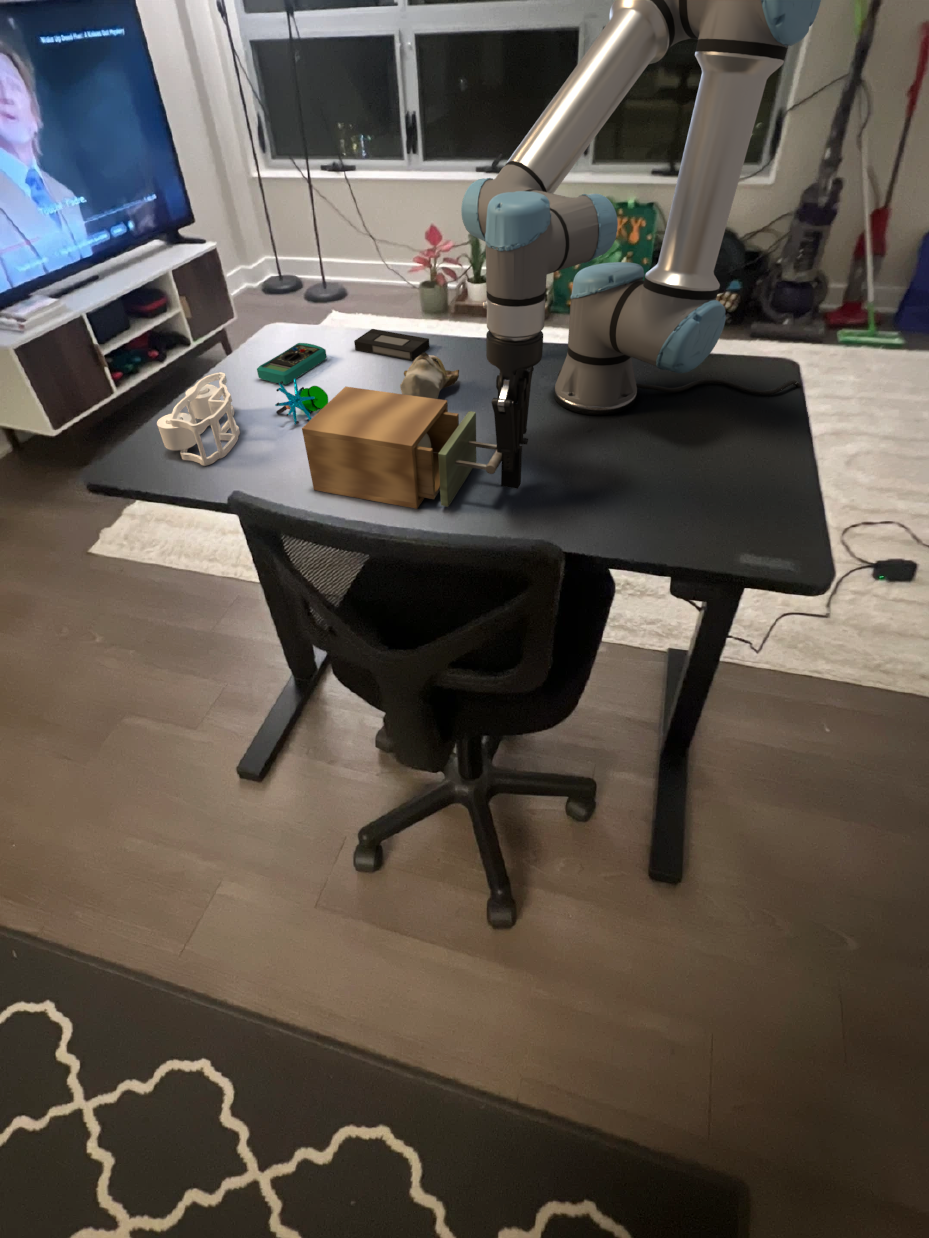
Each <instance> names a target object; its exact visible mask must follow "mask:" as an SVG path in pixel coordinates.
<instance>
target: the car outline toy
mask: <svg viewBox="0 0 929 1238" xmlns="http://www.w3.org/2000/svg"><path fill="white" fill-rule="evenodd" d="M215 381H218V385H219V387H217V385H214V384H210V383H213V382H215ZM227 382H228V380H227V376H226V373H225V372H215V373H211V374H208V375H206V376H204V377H202V378H201V379H200V380H198V381H197V382H196V383H195V384H194V386H192V387H189V388H188V389H187V390H186V391H185V396H184V397H182V398H181V399H180V400H179V401H178V402H177V404H176V405H174V407H173V409H172V411H171V413H168V414H166V415H163V416H161V417H160V418H159V419H157V421H156V425H157V428H158V431H159V433H160V437H161V440H162V442H163V446H164V448H166V449H167V450H169V451H180V452H179V453H180V457H181V459H182V461H191V462H194V463H198V464H200V465H201V466H204V467H205V466H209V465H212V464H215V462H216V461H218V460H219V459H223V458H225V457H226V456H227V455H228V454H229V453H230V451H231V450H232V449H233V448H234V446H235V445H236V444H237V442H238V440H239V436H240V435H241V430H240V427H239V426H238V425H237V422H236V419H235V418H234V415H235V413H236V412H235V409H234V406H233V404H232V402H233V399H232V394H231V393H230V392H229V390H228V387H227ZM221 397H222V398H223V399H221ZM185 407H186V409H187V412H181V411H183V409H184V408H185ZM225 414H226V416H227V420H226V422H225V423H224V424H223V425H222V426H221V424H220V422H219V421H220V419H222V417H224V416H225ZM197 420H201V421H199V422H198V423H197ZM209 426H210V427H211V428H210V429H211V431H212V434H213V438H214V443H215V446H216V449H217V451H214V452H213V453H212V454H210V455H209V456H207V454H206V450H205V447H204V444H203V441H202V438H201V434H203V433H204V432H205V431H206V430H207V428H208V427H209ZM229 430H230V431H231V433H227V432H228V431H229ZM221 441H227V443H226V444H225V445H224V446H223V445H222V442H221ZM196 444H197V448H198V451H199V454H195V453H191V452H188V450H189V449H190V448H192V447H194V446H195V445H196Z"/></svg>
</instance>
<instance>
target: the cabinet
mask: <svg viewBox="0 0 929 1238" xmlns="http://www.w3.org/2000/svg"><path fill="white" fill-rule="evenodd" d="M448 404H449V403H448V400H446V399H440V398H437V399H433V398H426V397H418V396H411V395H404V394H402V393H398V392H397V393H396V392H389V391H380V390H375V389H368V388H367V389H366V388H360V387H354V386H353V387H352V386H347V385H346V386H344V387H343V388H342V389H341V390H340V391H339V392H338V393H337V394H336V395H335V396H334V397H333V398H332V399H331V400H329V401H328V404H327V405H326V406H325V407H324V408H322V409H319V410H318V412H317V413H316V414H315V415H314V416H313V417H311V418H312V419H311V420H310V421H307V423H306V424H304V426H303V427H301V433H302V436H303V440H304V447H305V452H306V456H307V457H306V458H307V463H308V467H309V471H310V476H311V477H310V478H311V483H312V487H313V488H312V489H313V491H317V492H322V493H328V494H333V495H339V496H345V497H350V498H356V499H361V500H366V501H372V502H377V503H383V504H388V505H394V506H400V507H404V508H410V509H415V510H417V509H418V508H419V506H420V505H421V504H422V502H423V501H424V499H425V498H424V497H419V496H418V487H417V474H416V461H415V449H414V448H415V447H416V446H417V445H418V443H419V442H420V441H421V439H422V438H423V437H424V436H425V434H426V433H427V432H428V430H429V429H430V428H431V426H432V425H433V424H434V423H435V421H436V420H437V419H438V417H439V416H440V415H441V414H442V412H443V411H444V412H449V406H448Z"/></svg>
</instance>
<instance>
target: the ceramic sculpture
mask: <svg viewBox="0 0 929 1238" xmlns="http://www.w3.org/2000/svg"><path fill="white" fill-rule="evenodd" d="M403 376H404V378H403V379H402V381H401V383H400V385H399V388H400V391H401V394H404V395H411V396H418V397H426V398H433V399H439V396H440V392H441V390H442V389H446V388H449V387H452V386H453V385H455V384H456V383H457V381H458V380H459V378H460V369H456V370H453V371H452V370H447V369H446V368H445V366H444V363H443V361H442V360H441V359H440V358H439V357H438V356H436V355H433V354H432V355H431V354H429V353H427V352H426V351H424V352H423V353H422V354H420V355H419V356H418V357H417V358H415V359H414V360H413V361H412V363H411V365H410V366H409V367H408V369H407V370H404V372H403Z"/></svg>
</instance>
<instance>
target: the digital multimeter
mask: <svg viewBox="0 0 929 1238" xmlns="http://www.w3.org/2000/svg"><path fill="white" fill-rule="evenodd" d="M327 356H328V355H327V350H326V348H323V347H321V346H319V345H317V344H312V343H307V342H297V343H295V344H294V345H292V346H291V347H289V348H288V349H286V350H284V351H283V352H282V353H280V354H278V355H276V356H275V357H273V358H271V359H269V360H267V361H265V362H264V363H262V364H260V365H259V366H258V367H257V368H256V372H257V377H258V378H259V379H261V380H263V381H266V382H270V383H274V384H279V383H280V382H281V381H283V383H282V385H283V386H284V385H285V386H287V385H289V384H290V383H293V382H292V380H293V379H294V378H296V379H298V378H300V377H301V376H302V375H304V374H306V373H307V372H309V371H310V370H312V369H313V368H314V367H316V366H318V365H319V364H321V363H323V362H324V361H326V360H327V358H328V357H327Z"/></svg>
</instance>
